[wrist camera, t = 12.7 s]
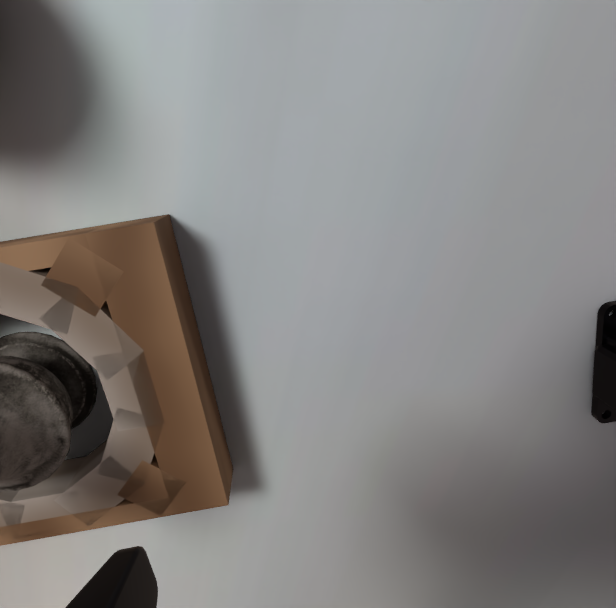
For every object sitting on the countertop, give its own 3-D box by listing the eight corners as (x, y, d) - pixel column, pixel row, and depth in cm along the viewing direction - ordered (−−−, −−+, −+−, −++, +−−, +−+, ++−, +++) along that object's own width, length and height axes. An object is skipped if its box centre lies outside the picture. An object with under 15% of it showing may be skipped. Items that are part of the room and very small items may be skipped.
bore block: (169, 214, 18) (153, 222, 16) (233, 468, 22) (228, 504, 20) (-219, 277, 18) (-294, 295, 16) (-82, 524, 22) (-124, 567, 20)
